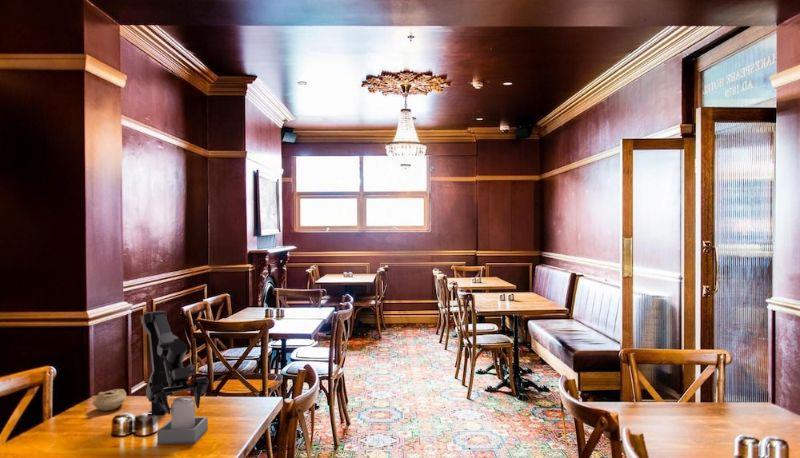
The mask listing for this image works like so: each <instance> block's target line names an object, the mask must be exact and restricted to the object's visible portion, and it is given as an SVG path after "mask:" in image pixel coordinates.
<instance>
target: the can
mask: <svg viewBox="0 0 800 458" xmlns="http://www.w3.org/2000/svg"><path fill="white" fill-rule="evenodd" d="M170 408H171V409H170V419H171V430H172V429H194V428H195V417H196V402H195V399H194V396H190V395H188V396H184V395H183V396H179V397H175V398H174V399H173V400H172V403H171V405H170Z"/></svg>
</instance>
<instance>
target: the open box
mask: <svg viewBox="0 0 800 458" xmlns="http://www.w3.org/2000/svg"><path fill="white" fill-rule="evenodd" d="M208 418H209V417H208V416H195V428H194V429H172V430H171V418H170V419H169V420H167V422H165V423H164V424H163V425H162V426H161V427H160V428H159V429H158V430H157V434H156V435H157V441H156V443H157V445H158V446H160V445H161V446H162V445H163V446H164V445H193V444H196V443H197V442H199V440H200V439H201V438H202V437H203V436H204V435H205V433H206V432H207V431H208V429H209V427H208V423H209V422H208V420H209V419H208Z"/></svg>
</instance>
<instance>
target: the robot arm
mask: <svg viewBox="0 0 800 458" xmlns="http://www.w3.org/2000/svg"><path fill="white" fill-rule="evenodd" d="M167 315H168V314H167V312H166V311H164V310H156V311H146V312H144V314H141V316H140V323H141V325H142V328H143V330H144V331H145V333H146V334H147V335H148V340H149V349H150V352H149V353H150V358H151V359H150V360H151V369H152V373H151V374H150V377H149V379H148V383H147V386H146V389H145V397H146V399H147V400H148V402H150V409H151V410H150V411H148V413H152V414H157V415H158V416H160V415H166V414H167V415H171V407H170V406H169V402H168V399H169V397H168V396H173V393H177V392H183V391H188V390H193V392H194V393H193V399H194V401H195V407H196V408H197V409H199V408H200V404H201V395H202V394H203V393H204V392H205V391H207V389H208V386H209V384H210V381H209V378H208V377H207V376H203V377H202V376H200V377H195V379H194V381H193V382H189V380H190V378H189V377H191V376H192V375H194V374H196V368H195V365H194V364H188V365H187V366H186V367H184V364H183V361H184V359H185V357H186V353H187V352H188V349H189V348H188V344H187V343H186V342H185V341H182V340H181V339H180V338H179V337H178V336H177V335H175V334H173V332H172V330H171V327H170V324H169V321H168V319H167V317H168V316H167ZM188 382H189V383H188ZM157 415H156V416H157Z"/></svg>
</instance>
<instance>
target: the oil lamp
mask: <svg viewBox="0 0 800 458" xmlns="http://www.w3.org/2000/svg"><path fill="white" fill-rule="evenodd" d="M126 399H127V392H126V390H125V389H124V388H116V389H111V390H107V391H100V392H98V394H97V396H96V397H95V398H94V400H93V401H92V405H93V406H94V407H95V408H96V409H98V410H99V411H103V412H105V411H112V410H116V409H118V408H119V407H120V406H121V405H122V404H123V403H124V402H125V400H126Z"/></svg>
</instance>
